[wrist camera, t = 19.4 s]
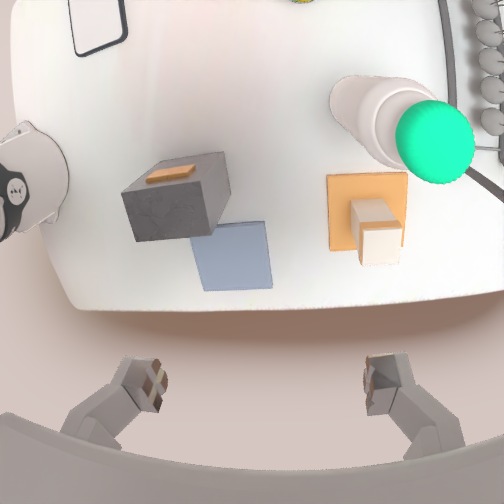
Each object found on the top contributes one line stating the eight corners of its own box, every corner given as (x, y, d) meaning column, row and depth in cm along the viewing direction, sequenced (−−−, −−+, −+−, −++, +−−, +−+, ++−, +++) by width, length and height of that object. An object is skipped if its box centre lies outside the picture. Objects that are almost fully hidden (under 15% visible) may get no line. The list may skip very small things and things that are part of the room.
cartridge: (350, 230, 43) (361, 266, 36) (349, 199, 41) (362, 230, 33) (382, 228, 43) (399, 264, 35) (383, 197, 40) (403, 228, 33)
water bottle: (393, 101, 34) (512, 149, 13) (359, 140, 38) (439, 230, 16) (351, 64, 33) (441, 54, 11) (317, 104, 36) (357, 149, 15)
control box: (171, 204, 45) (137, 246, 35) (159, 158, 42) (119, 189, 32) (231, 197, 44) (212, 240, 34) (223, 148, 40) (199, 177, 30)
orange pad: (329, 247, 46) (330, 251, 45) (326, 175, 41) (327, 177, 40) (400, 243, 44) (402, 246, 44) (405, 172, 39) (407, 174, 38)
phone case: (132, 39, 34) (120, -51, 25) (126, 38, 32) (114, -54, 24) (81, 59, 35) (70, -27, 27) (74, 60, 34) (64, -28, 26)
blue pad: (205, 287, 52) (204, 291, 52) (189, 227, 47) (187, 230, 46) (272, 284, 51) (272, 288, 50) (264, 221, 45) (263, 224, 44)
